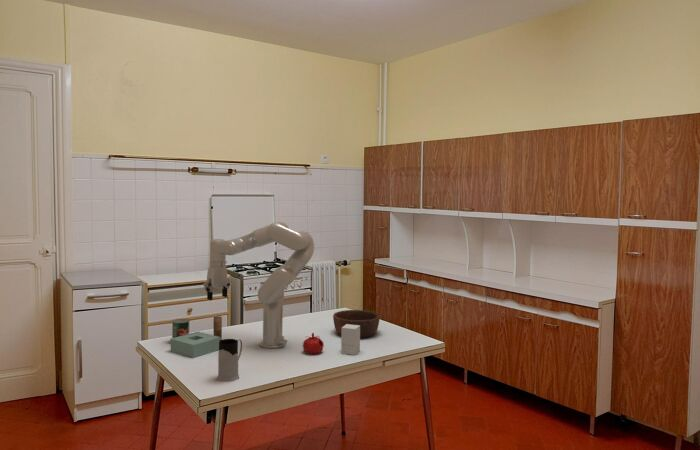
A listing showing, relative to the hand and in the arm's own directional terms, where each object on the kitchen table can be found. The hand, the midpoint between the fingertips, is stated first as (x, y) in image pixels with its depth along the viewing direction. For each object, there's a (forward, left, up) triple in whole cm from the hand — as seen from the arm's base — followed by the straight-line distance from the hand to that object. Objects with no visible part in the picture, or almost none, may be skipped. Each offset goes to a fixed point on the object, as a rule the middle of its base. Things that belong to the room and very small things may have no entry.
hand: (217, 298), depth 266 cm
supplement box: (-63, -26, -22) cm, 72 cm away
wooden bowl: (-47, -55, -22) cm, 76 cm away
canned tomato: (+12, +13, -22) cm, 28 cm away
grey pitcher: (-42, +30, -22) cm, 56 cm away
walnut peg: (0, 0, -22) cm, 22 cm away
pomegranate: (-49, -15, -22) cm, 56 cm away
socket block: (-4, +17, -22) cm, 28 cm away
